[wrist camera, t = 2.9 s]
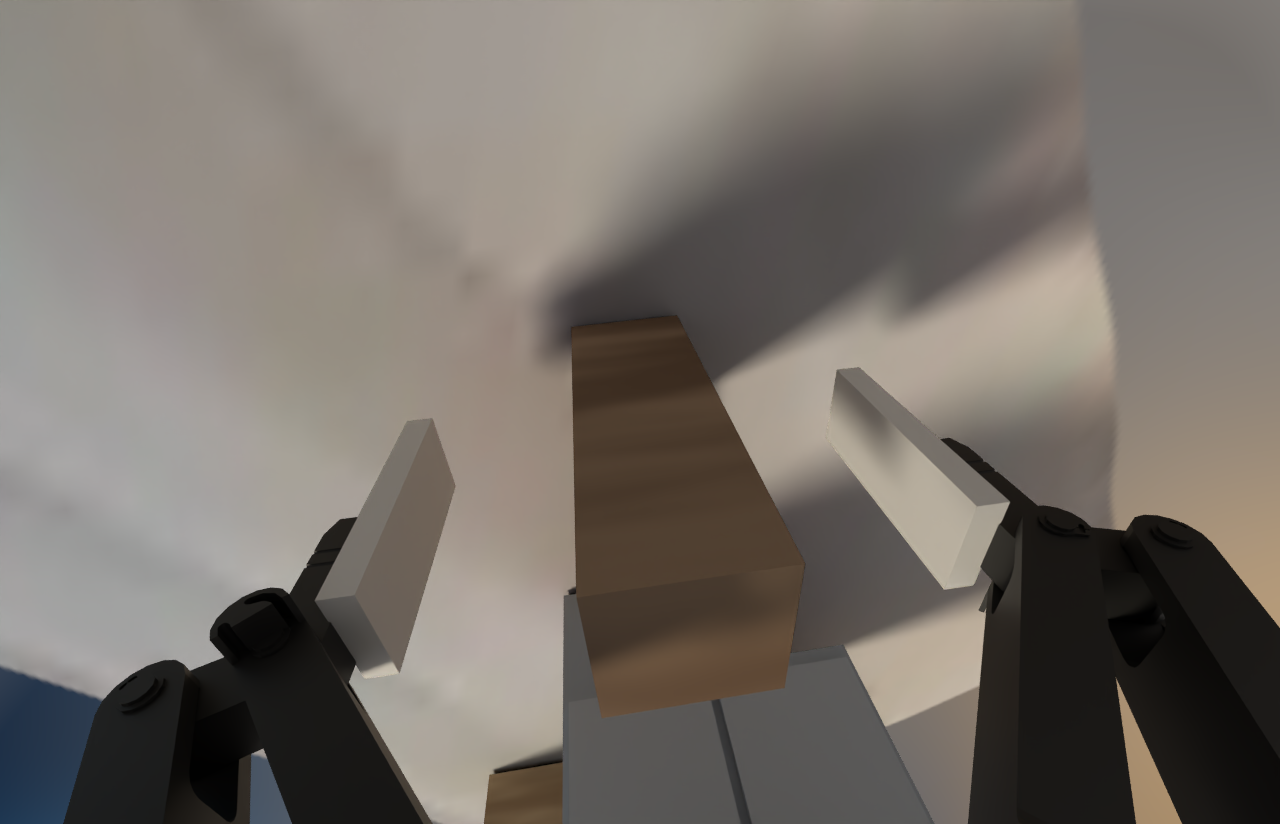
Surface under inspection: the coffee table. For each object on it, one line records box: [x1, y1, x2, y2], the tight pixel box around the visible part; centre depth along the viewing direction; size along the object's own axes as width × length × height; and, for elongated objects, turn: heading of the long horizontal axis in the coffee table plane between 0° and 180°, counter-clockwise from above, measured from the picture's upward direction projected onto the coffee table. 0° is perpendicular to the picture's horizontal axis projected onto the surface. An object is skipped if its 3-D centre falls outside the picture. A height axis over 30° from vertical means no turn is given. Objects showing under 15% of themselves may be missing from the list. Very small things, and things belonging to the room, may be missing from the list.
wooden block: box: [571, 315, 805, 718], centre depth 18 cm, size 17×4×12 cm, turn 4°
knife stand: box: [484, 762, 563, 824], centre depth 34 cm, size 4×20×7 cm, turn 94°
